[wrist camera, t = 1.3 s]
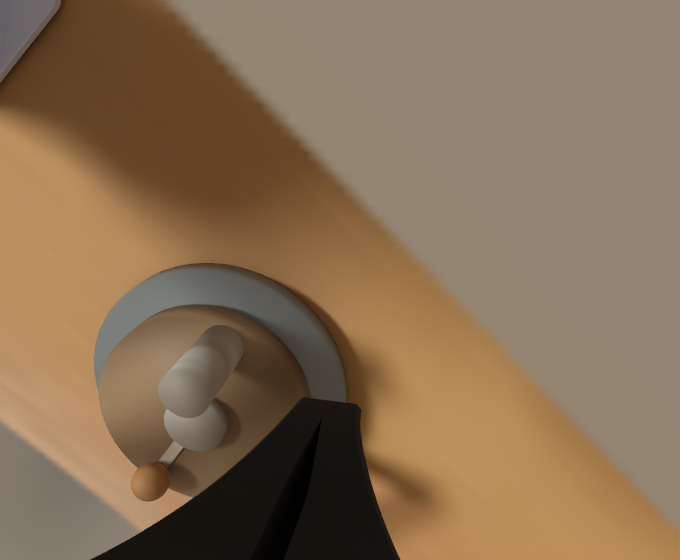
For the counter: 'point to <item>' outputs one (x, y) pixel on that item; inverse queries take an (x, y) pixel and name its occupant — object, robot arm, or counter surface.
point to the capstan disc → (195, 395)
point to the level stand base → (241, 296)
